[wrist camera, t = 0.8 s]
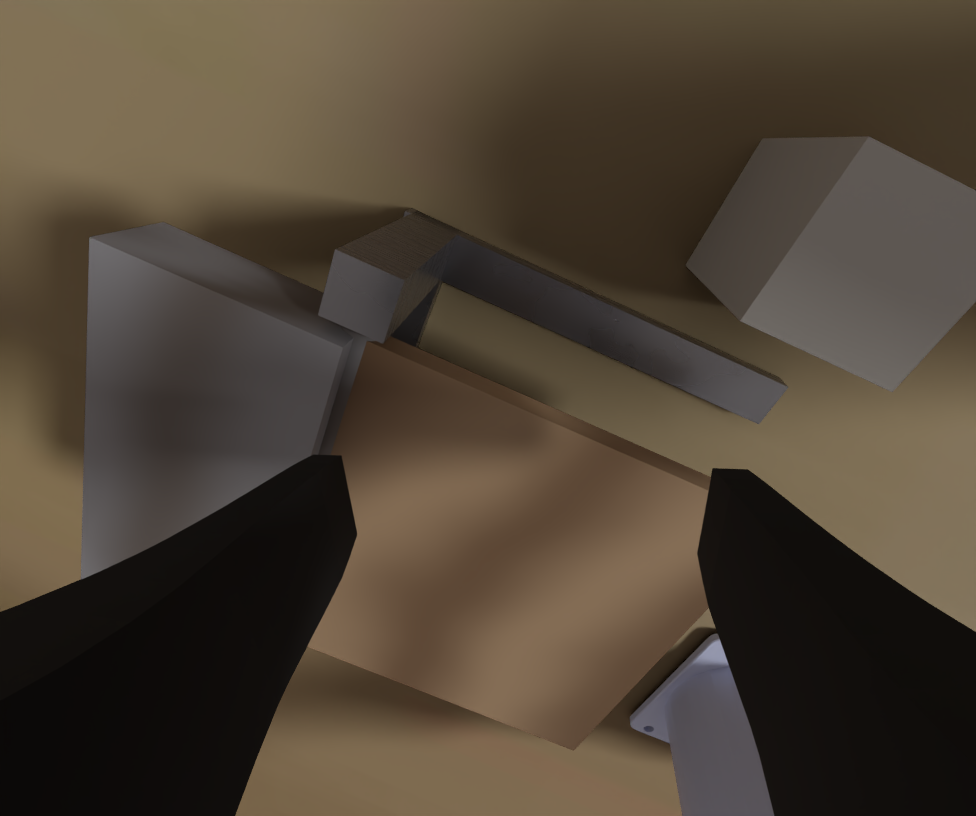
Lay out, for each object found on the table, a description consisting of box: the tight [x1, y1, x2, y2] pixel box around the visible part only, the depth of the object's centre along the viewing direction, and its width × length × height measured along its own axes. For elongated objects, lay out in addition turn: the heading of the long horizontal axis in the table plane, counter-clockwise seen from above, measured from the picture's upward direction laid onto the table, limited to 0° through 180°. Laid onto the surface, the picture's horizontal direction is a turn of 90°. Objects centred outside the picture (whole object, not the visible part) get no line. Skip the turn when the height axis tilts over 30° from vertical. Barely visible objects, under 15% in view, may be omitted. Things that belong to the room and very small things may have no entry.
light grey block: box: [685, 136, 976, 392], centre depth 14 cm, size 4×4×6 cm
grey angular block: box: [318, 208, 788, 424], centre depth 18 cm, size 14×16×7 cm
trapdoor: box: [81, 222, 711, 751], centre depth 16 cm, size 18×12×2 cm
